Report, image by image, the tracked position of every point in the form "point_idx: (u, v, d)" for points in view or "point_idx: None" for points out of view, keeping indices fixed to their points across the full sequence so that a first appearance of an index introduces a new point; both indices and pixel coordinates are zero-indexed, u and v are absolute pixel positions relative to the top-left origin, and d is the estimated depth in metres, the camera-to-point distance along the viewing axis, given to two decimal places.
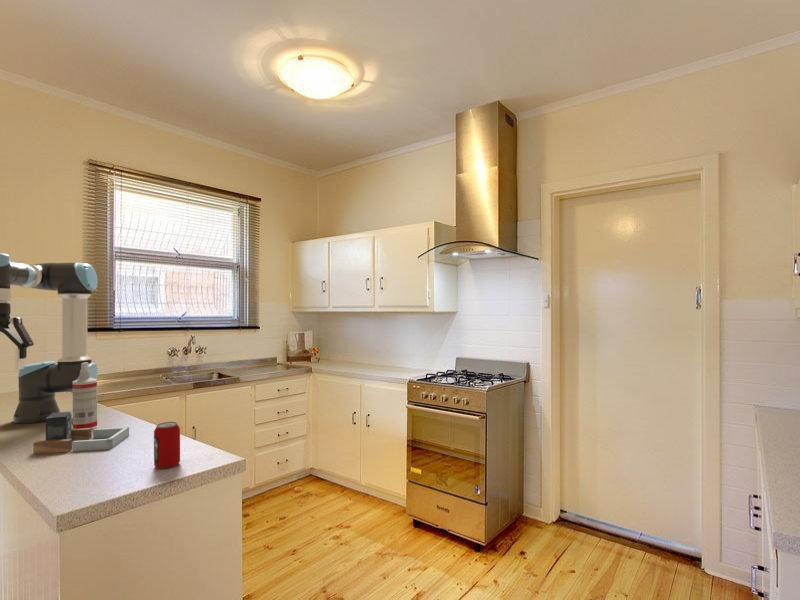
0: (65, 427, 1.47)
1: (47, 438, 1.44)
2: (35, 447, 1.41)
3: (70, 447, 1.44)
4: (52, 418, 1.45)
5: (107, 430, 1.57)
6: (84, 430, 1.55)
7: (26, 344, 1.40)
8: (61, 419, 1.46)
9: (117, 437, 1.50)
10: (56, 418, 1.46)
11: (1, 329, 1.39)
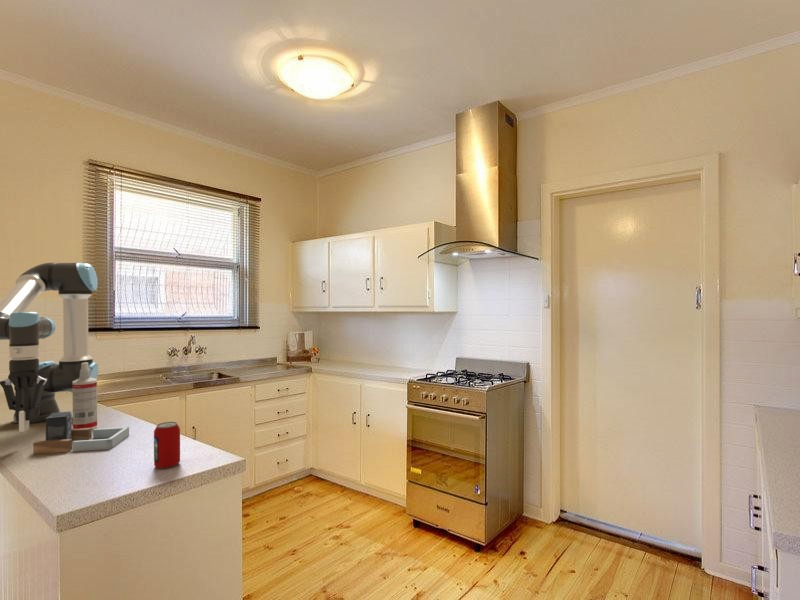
0: (65, 427, 1.47)
1: (47, 438, 1.44)
2: (35, 447, 1.41)
3: (70, 447, 1.44)
4: (52, 418, 1.45)
5: (107, 430, 1.57)
6: (84, 430, 1.55)
7: (32, 406, 1.46)
8: (61, 419, 1.46)
9: (117, 437, 1.50)
10: (56, 418, 1.46)
11: (25, 386, 1.45)
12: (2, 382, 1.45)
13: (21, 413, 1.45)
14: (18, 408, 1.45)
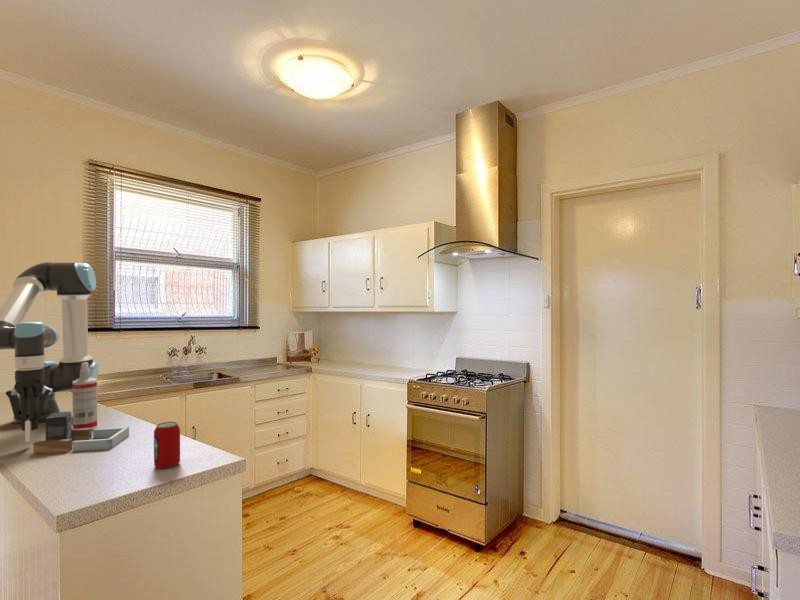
0: (65, 427, 1.47)
1: (47, 438, 1.44)
2: (35, 447, 1.41)
3: (70, 447, 1.44)
4: (52, 418, 1.45)
5: (107, 430, 1.57)
6: (84, 430, 1.55)
7: (38, 416, 1.47)
8: (61, 419, 1.46)
9: (117, 437, 1.50)
10: (56, 418, 1.46)
11: (30, 396, 1.46)
12: (8, 392, 1.45)
13: (27, 423, 1.46)
14: (24, 418, 1.46)
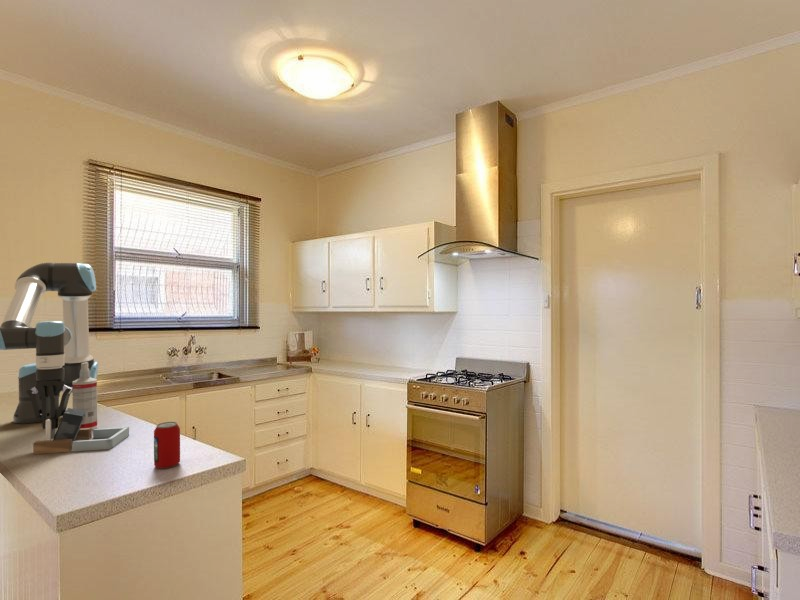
0: (77, 426, 1.48)
1: (57, 433, 1.45)
2: (35, 447, 1.41)
3: (70, 447, 1.44)
4: (69, 414, 1.47)
5: (107, 430, 1.57)
6: (84, 430, 1.55)
7: (58, 415, 1.48)
8: (77, 417, 1.48)
9: (117, 437, 1.50)
10: (73, 415, 1.47)
11: (51, 395, 1.47)
12: (29, 391, 1.46)
13: (48, 421, 1.47)
14: (45, 417, 1.47)
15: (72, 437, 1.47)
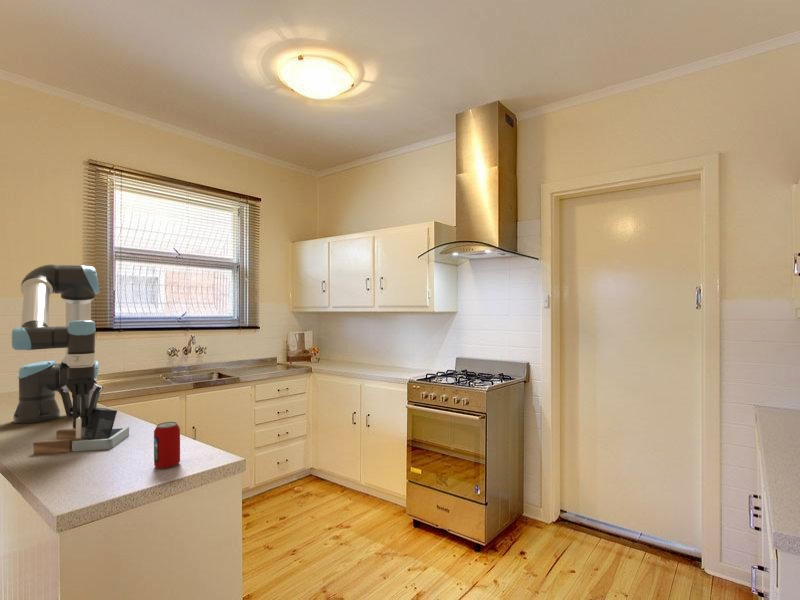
0: (113, 421, 1.54)
1: (96, 430, 1.49)
2: (35, 447, 1.41)
3: (70, 447, 1.44)
4: (106, 411, 1.52)
5: None
6: None
7: (88, 413, 1.49)
8: (112, 413, 1.54)
9: (117, 437, 1.50)
10: (109, 411, 1.53)
11: (82, 394, 1.48)
12: (60, 389, 1.47)
13: (78, 420, 1.48)
14: (75, 415, 1.48)
15: (109, 432, 1.53)
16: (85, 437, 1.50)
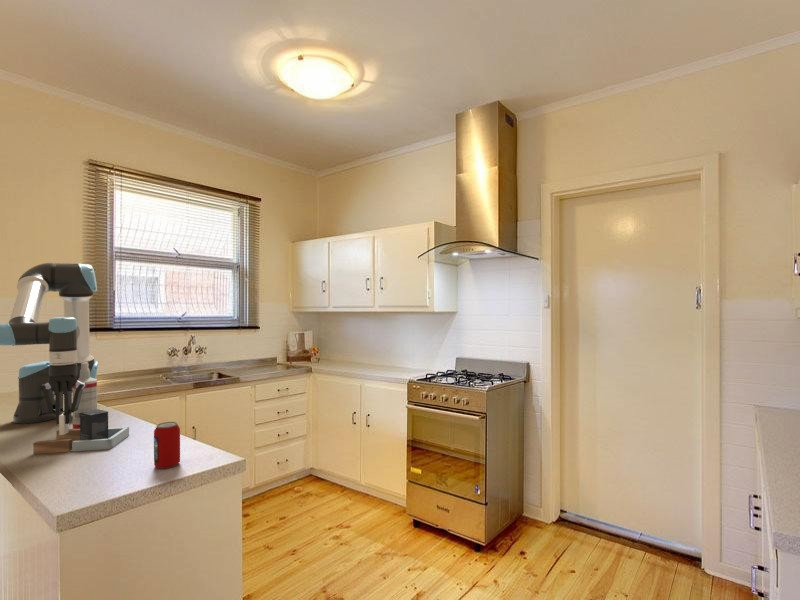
0: (107, 422, 1.52)
1: (91, 434, 1.48)
2: (35, 447, 1.41)
3: (70, 447, 1.44)
4: (96, 414, 1.49)
5: None
6: None
7: (72, 410, 1.49)
8: (104, 415, 1.51)
9: (117, 437, 1.50)
10: (99, 414, 1.50)
11: (64, 391, 1.48)
12: (42, 386, 1.47)
13: (61, 417, 1.48)
14: (58, 412, 1.48)
15: (106, 433, 1.52)
16: None
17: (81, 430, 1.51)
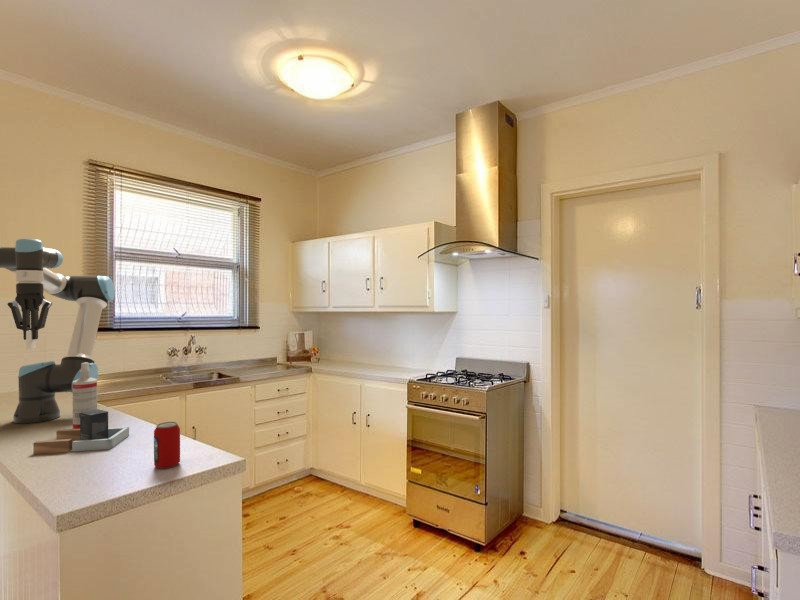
0: (107, 422, 1.52)
1: (91, 434, 1.48)
2: (35, 447, 1.41)
3: (70, 447, 1.44)
4: (96, 414, 1.49)
5: None
6: None
7: (38, 326, 1.59)
8: (104, 415, 1.51)
9: (117, 437, 1.50)
10: (99, 414, 1.50)
11: (31, 308, 1.58)
12: (10, 303, 1.57)
13: (28, 332, 1.58)
14: (25, 328, 1.58)
15: (106, 433, 1.52)
16: None
17: (81, 430, 1.51)
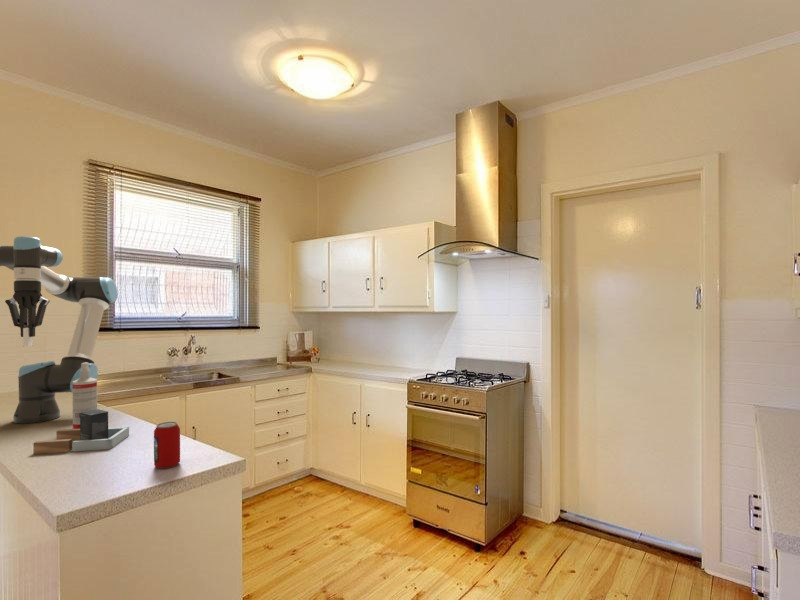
0: (107, 422, 1.52)
1: (91, 434, 1.48)
2: (35, 447, 1.41)
3: (70, 447, 1.44)
4: (96, 414, 1.49)
5: None
6: None
7: (35, 324, 1.59)
8: (104, 415, 1.51)
9: (117, 437, 1.50)
10: (99, 414, 1.50)
11: (28, 305, 1.58)
12: (7, 300, 1.57)
13: (25, 329, 1.58)
14: (22, 325, 1.58)
15: (106, 433, 1.52)
16: None
17: (81, 430, 1.51)
